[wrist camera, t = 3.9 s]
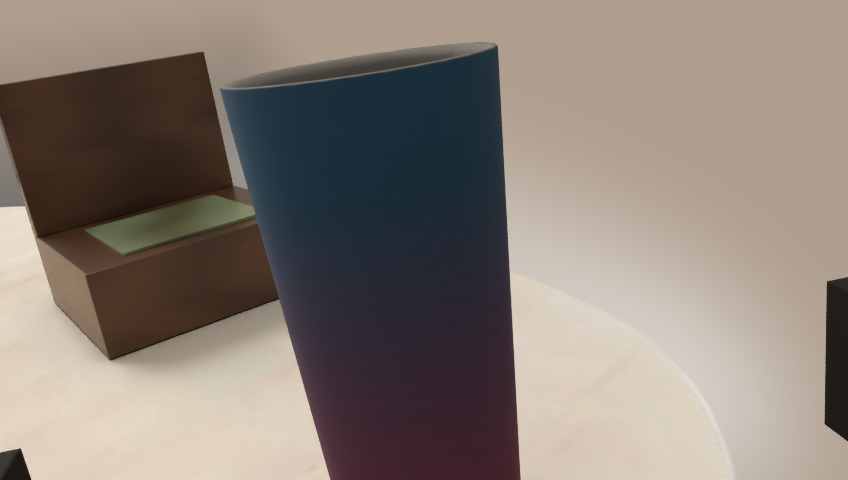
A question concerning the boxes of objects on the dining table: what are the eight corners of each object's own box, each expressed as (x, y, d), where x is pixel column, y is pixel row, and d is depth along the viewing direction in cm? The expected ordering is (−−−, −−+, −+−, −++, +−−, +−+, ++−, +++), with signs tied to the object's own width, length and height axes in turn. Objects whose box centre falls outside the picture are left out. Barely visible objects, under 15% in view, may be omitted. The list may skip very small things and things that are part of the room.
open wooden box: (241, 244, 61) (197, 51, 56) (328, 280, 50) (283, 43, 45) (55, 303, 53) (-12, 86, 49) (109, 360, 42) (30, 86, 38)
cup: (423, 703, 19) (308, 87, 14) (290, 569, 24) (176, 89, 20) (603, 558, 23) (556, 36, 18) (454, 469, 28) (389, 48, 23)
